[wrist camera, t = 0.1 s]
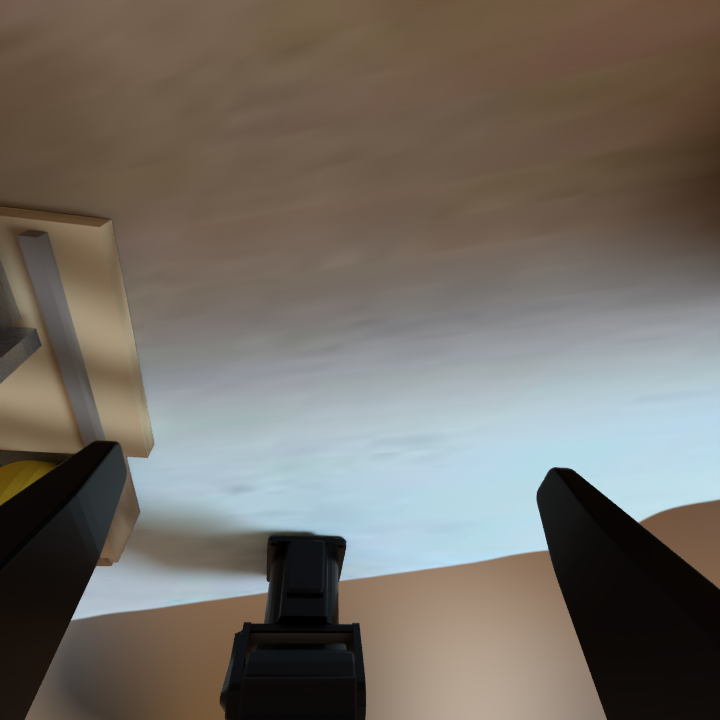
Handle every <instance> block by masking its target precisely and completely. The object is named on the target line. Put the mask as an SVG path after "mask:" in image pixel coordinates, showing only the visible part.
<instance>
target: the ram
mask: <svg viewBox="0 0 720 720" xmlns="http://www.w3.org/2000/svg"><path fill="white" fill-rule="evenodd" d="M20 319H21V315H20V312H19V310H18V307H17V304H16V301H15V298H14V295H13V293H12V290H11V287H10V284H9V281H8V279H7V276H6V273H5V270H4V267H3V265H2V262H1V259H0V384H1V383H2V382H3V381H4V380H5V379H6V378H7V377H8V376H9V375H11V374H12V373H13V372H14V371H15V370H16V369H17V368H18V367H19V366H20V365H21V364H22V363H24V362H25V361H26V360H27V359H28V358H29V357H30V356H31V355H32V354H33V353H34V352H35V351H37V350H38V349H39V348H40V347H41V346H42V345H41V342H40V339H39V336H38V333H37V330H36V328H27V327H16V326H12V325H13V324H15V323H16V322H17V321H18V320H20Z"/></svg>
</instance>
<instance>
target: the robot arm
mask: <svg viewBox="0 0 720 720" xmlns="http://www.w3.org/2000/svg"><path fill="white" fill-rule="evenodd" d="M126 478H127V467H126V463H125V459H124V455H123V451H122V447H121V445H120V443H119V442H117V441H108V440H96V441H94V442H92V443H90V444H89V445H87V446H86V447H84V448H83V449H81V450H80V451H78V452H77V453H76V454H74V455H73V456H71V457H70V458H68V459H67V460H65V461H64V462H62V463H61V464H60V465H58V466H57V467H55V468H54V469H52V470H51V471H49V472H48V473H46V474H45V475H44V476H42V477H41V478H39V479H38V480H36V481H35V482H33V483H32V484H30V485H29V486H28V487H26V488H25V489H23V490H22V491H20V492H19V493H17V494H16V495H14V496H13V497H12V498H10V499H9V500H7V501H6V502H4V503H3V504H1V505H0V720H25V718H26V715H27V713H28V711H29V709H30V707H31V705H32V702H33V700H34V698H35V696H36V694H37V692H38V689H39V687H40V685H41V683H42V681H43V679H44V677H45V674H46V672H47V670H48V668H49V666H50V664H51V662H52V660H53V657H54V655H55V653H56V651H57V649H58V647H59V644H60V642H61V640H62V638H63V636H64V633H65V631H66V629H67V627H68V625H69V623H70V621H71V619H72V616H73V614H74V612H75V610H76V608H77V606H78V604H79V601H80V599H81V597H82V595H83V593H84V591H85V589H86V586H87V584H88V582H89V580H90V578H91V576H92V573H93V571H94V569H95V567H96V565H97V562H98V560H99V558H100V555H101V552H102V550H103V547H104V544H105V541H106V538H107V535H108V532H109V529H110V527H111V524H112V521H113V518H114V515H115V512H116V509H117V506H118V503H119V500H120V497H121V494H122V491H123V488H124V485H125V482H126ZM537 504H538V508H539V512H540V516H541V521H542V525H543V529H544V533H545V537H546V541H547V545H548V549H549V553H550V556H551V561H552V564H553V568H554V571H555V574H556V577H557V580H558V583H559V586H560V589H561V591H562V594H563V597H564V600H565V603H566V605H567V608H568V611H569V614H570V617H571V619H572V622H573V625H574V628H575V631H576V634H577V636H578V639H579V642H580V645H581V648H582V650H583V653H584V656H585V659H586V662H587V664H588V667H589V670H590V672H591V676H592V679H593V681H594V684H595V687H596V690H597V692H598V696H599V698H600V701H601V704H602V706H603V710H604V712H605V715H606V718H607V720H720V589H719V588H718V587H716V586H715V585H714V584H713V583H712V582H710V581H709V580H708V579H707V578H706V577H704V576H703V575H702V574H701V573H699V572H698V571H697V570H696V569H694V568H693V567H692V566H691V565H690V564H688V563H687V562H686V561H685V560H683V559H682V558H681V557H680V556H678V555H677V554H676V553H675V552H673V551H672V550H671V549H670V548H669V547H667V546H666V545H665V544H663V543H662V542H661V541H660V540H659V539H658V538H656V537H655V536H654V535H653V534H651V533H650V532H649V531H648V530H646V529H645V528H644V527H643V526H642V525H640V524H639V523H638V522H637V521H635V520H634V519H633V518H632V517H630V516H629V515H628V514H627V513H626V512H624V511H623V510H622V509H621V508H619V507H618V506H617V505H616V504H614V503H613V502H612V501H611V500H610V499H608V498H607V497H606V496H605V495H603V494H602V493H601V492H600V491H599V490H597V489H596V488H595V487H594V486H592V485H591V484H590V483H589V482H587V481H586V480H585V479H584V478H583V477H581V476H580V475H579V474H578V473H576V472H575V471H574V470H572V469H569V468H558V467H554V468H552V469H550V470H549V471H548V473H547V475H546V477H545V478H544V480H543V482H542V484H541V485H540V487H539V489H538V491H537ZM345 551H346V540H344V539H336V538H307V537H279V536H273V537H270V538H269V539H268V550H267V581H268V582H269V589H268V597H267V605H266V612H265V620H264V624H252V623H251V622H244V625H243V630H242V631H241V632H238V633H236V634H235V638H234V643H233V649H232V655H231V659H230V663H229V667H228V670H227V674H226V677H225V681H224V684H223V688H222V691H221V696H220V705H221V707H222V708H223V710H224V711H225V720H365V715H366V685H365V673H364V663H363V653H362V644H361V635H360V626H359V623H352V624H339V615H338V613H339V610H338V582H339V579H340V575H341V570H342V565H343V560H344V556H345Z"/></svg>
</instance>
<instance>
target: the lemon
mask: <svg viewBox="0 0 720 720" xmlns="http://www.w3.org/2000/svg"><path fill="white" fill-rule="evenodd" d="M55 467H57V465H56V464H55V463H54V462H51V461H49V462H44V461H39V460H24V461H17V462H13V463H10V464H7V465H4V466H1V467H0V505H1V504H3V503H4V502H6V501H7V500H9V499H10V498H12V497H13V496H14V495H16V494H17V493H19V492H20V491H22V490H23V489H25V488H26V487H28V486H29V485H30V484H32V483H33V482H35V481H36V480H38V479H39V478H41V477H42V476H44V475H45V474H46V473H48V472H49V471H51V470H52V469H54V468H55Z"/></svg>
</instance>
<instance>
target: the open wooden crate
mask: <svg viewBox="0 0 720 720" xmlns="http://www.w3.org/2000/svg"><path fill="white" fill-rule="evenodd" d="M124 459H125V463H126V467H127V478H126V482H125V485H124V488H123V491H122V494H121V497H120V500H119V503H118V506H117V509H116V512H115V515H114V518H113V521H112V524H111V527H110V529H109V532H108V535H107V538H106V541H105V544H104V547H103V550H102V552H101V555H100V558H99V560H98V562H97V565H96V566H112V564H113V562H118V561H119V558H120V556H121V554H122V552H123V549H124V547H125V545H126V543H127V540H128V538H129V536H130V534H131V532H132V529H133V527H134V525H135V523H136V520H137V518H138V516H139V514H140V509H139V505H138V501H137V497H136V493H135V489H134V485H133V481H132V477H131V473H130V469H129V465H128V461H127V457H124Z"/></svg>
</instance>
